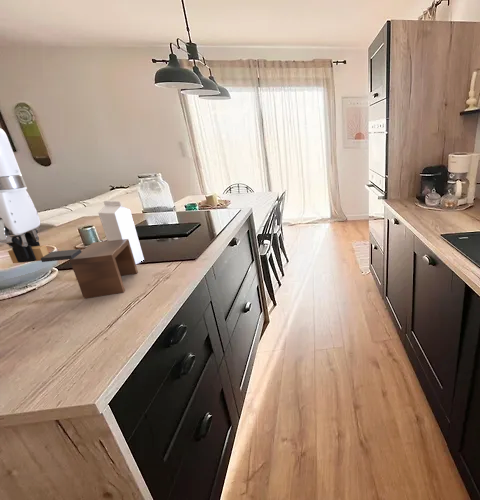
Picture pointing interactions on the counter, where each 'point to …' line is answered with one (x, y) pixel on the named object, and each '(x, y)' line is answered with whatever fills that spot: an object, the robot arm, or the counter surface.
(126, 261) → the stand
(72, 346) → the counter surface
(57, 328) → the counter surface
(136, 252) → the milk
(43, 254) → the fish slice
